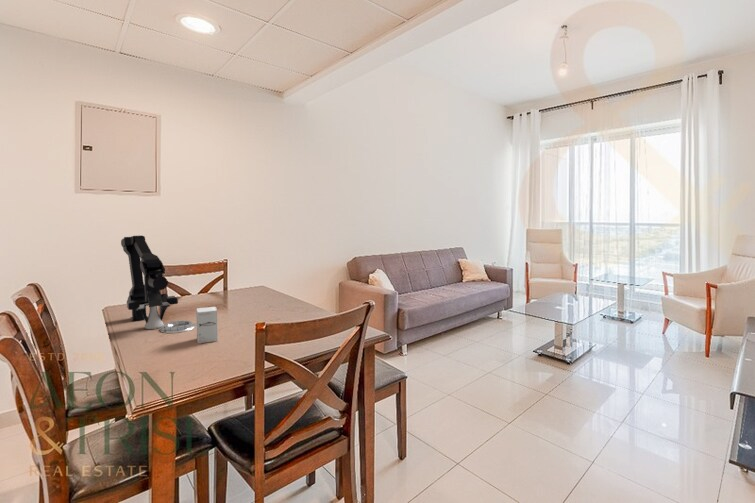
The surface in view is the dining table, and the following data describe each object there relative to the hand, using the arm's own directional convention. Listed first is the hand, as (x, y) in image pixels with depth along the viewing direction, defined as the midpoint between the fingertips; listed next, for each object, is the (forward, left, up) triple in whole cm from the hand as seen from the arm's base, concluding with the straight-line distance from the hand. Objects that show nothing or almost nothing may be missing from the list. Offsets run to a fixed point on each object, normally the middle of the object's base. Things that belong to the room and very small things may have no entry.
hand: (153, 321), depth 165 cm
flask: (0, 0, -3) cm, 3 cm away
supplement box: (+32, +13, -3) cm, 35 cm away
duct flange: (+8, +8, -2) cm, 12 cm away
